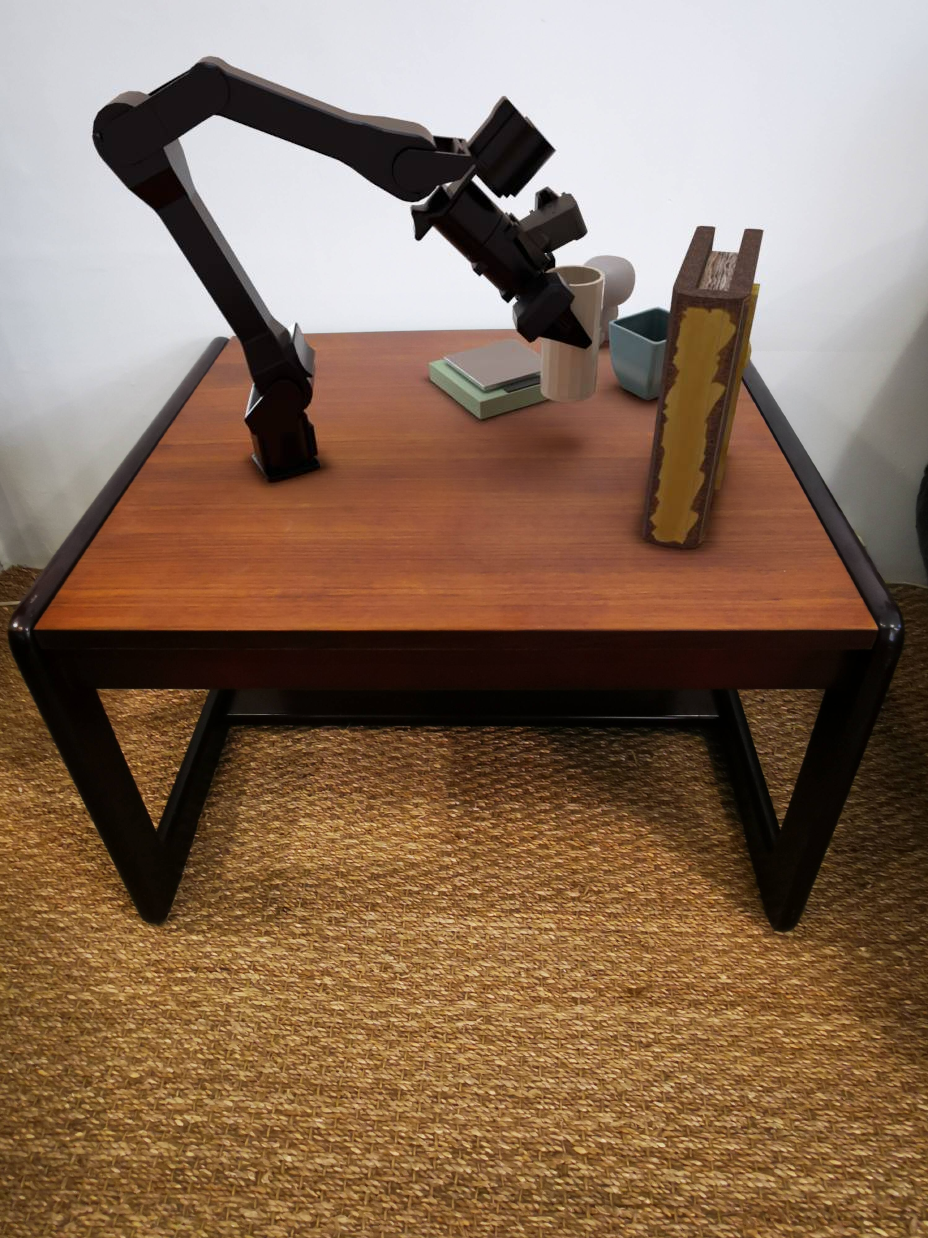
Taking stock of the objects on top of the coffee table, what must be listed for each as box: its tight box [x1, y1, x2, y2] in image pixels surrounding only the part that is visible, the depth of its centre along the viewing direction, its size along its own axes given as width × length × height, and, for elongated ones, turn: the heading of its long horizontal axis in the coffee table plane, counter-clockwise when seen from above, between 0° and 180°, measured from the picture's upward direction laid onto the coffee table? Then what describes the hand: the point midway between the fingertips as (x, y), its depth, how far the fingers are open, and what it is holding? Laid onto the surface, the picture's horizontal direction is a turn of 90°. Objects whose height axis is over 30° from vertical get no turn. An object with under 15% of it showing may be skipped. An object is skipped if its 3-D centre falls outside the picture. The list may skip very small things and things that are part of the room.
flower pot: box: [608, 306, 670, 401], centre depth 107 cm, size 9×9×9 cm
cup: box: [540, 264, 605, 404], centre depth 91 cm, size 6×6×13 cm
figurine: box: [582, 254, 636, 347], centre depth 118 cm, size 8×8×12 cm
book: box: [640, 225, 764, 550], centre depth 83 cm, size 22×8×25 cm, turn 162°
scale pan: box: [443, 338, 541, 391], centre depth 110 cm, size 11×11×1 cm
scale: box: [428, 339, 549, 421], centre depth 111 cm, size 14×14×3 cm
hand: (583, 333), depth 91 cm, fingers closed on cup, 6 cm apart
